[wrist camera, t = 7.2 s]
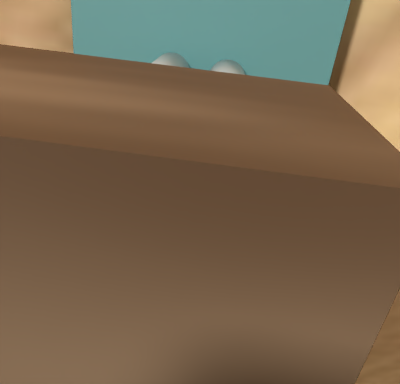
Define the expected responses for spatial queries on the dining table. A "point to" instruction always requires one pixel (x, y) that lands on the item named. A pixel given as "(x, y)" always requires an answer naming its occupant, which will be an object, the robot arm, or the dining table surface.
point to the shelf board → (188, 226)
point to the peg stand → (216, 34)
